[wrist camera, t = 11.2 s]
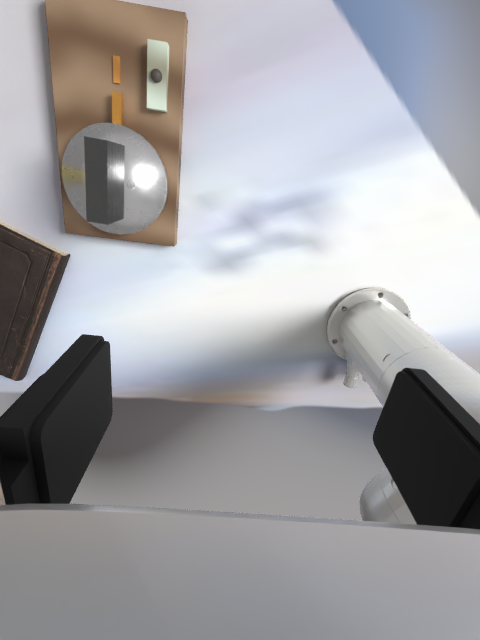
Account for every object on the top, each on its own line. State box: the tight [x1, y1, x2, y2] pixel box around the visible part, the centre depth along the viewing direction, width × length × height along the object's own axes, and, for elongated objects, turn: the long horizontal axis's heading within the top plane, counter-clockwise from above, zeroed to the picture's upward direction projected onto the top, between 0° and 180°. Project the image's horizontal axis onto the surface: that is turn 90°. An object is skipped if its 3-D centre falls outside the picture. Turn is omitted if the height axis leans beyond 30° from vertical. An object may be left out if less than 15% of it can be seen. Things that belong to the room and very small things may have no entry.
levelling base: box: [45, 0, 188, 246], centre depth 37 cm, size 24×14×4 cm, turn 173°
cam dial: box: [62, 92, 168, 234], centre depth 35 cm, size 15×12×7 cm
